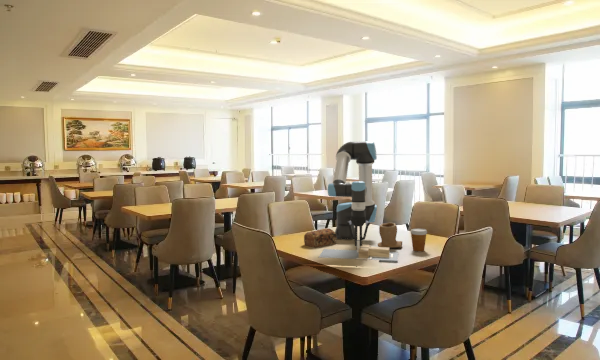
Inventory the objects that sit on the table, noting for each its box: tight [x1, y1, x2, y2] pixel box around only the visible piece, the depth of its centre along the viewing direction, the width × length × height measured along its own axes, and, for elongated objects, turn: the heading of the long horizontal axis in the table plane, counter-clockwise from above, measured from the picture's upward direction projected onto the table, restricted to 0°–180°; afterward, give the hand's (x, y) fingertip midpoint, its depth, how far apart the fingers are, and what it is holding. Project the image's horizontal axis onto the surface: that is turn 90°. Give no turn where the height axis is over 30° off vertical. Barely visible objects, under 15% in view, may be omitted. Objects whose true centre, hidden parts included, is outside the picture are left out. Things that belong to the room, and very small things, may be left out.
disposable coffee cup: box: [409, 228, 428, 252], centre depth 251 cm, size 10×10×12 cm
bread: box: [303, 227, 337, 248], centre depth 266 cm, size 19×11×10 cm, turn 127°
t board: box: [318, 248, 399, 263], centre depth 239 cm, size 20×42×1 cm, turn 78°
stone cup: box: [377, 222, 403, 249], centre depth 258 cm, size 15×12×15 cm
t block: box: [359, 243, 390, 260], centre depth 237 cm, size 16×16×4 cm
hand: (358, 251), depth 239 cm, fingers closed
